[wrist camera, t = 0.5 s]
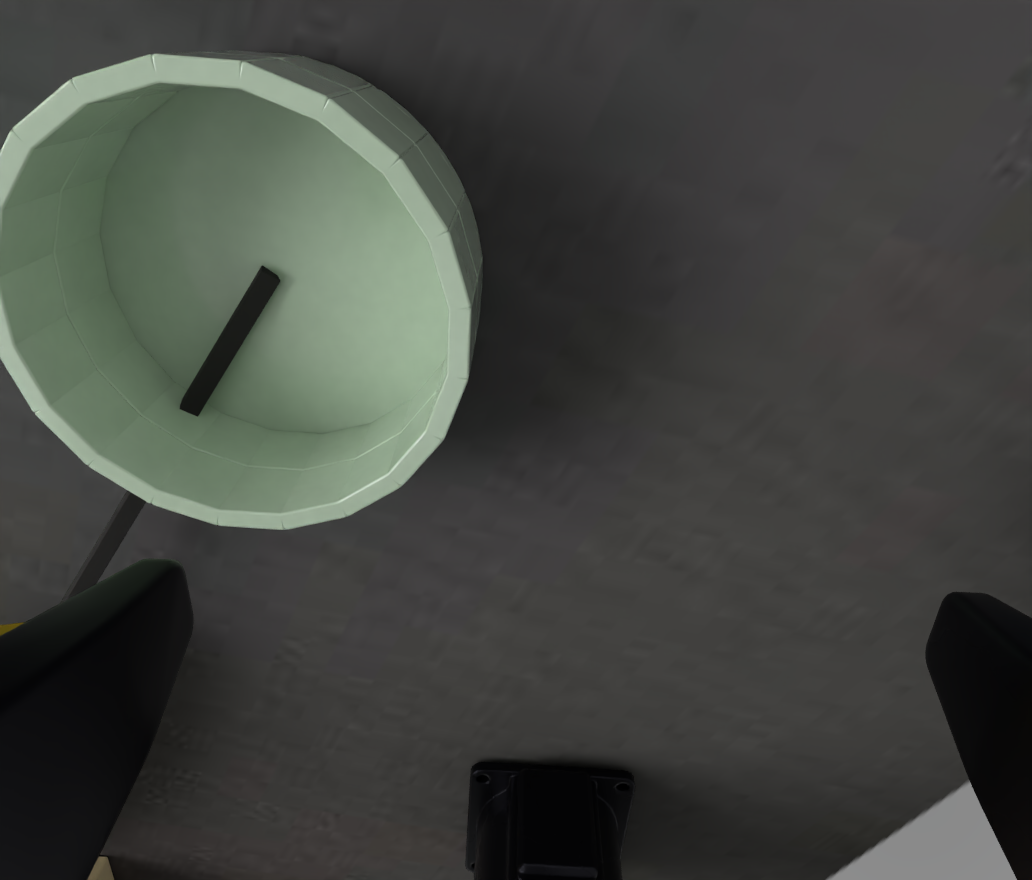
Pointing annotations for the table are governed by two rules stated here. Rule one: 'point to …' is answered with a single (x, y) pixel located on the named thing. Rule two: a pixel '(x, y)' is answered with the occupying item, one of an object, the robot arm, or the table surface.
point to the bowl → (237, 282)
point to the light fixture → (191, 404)
